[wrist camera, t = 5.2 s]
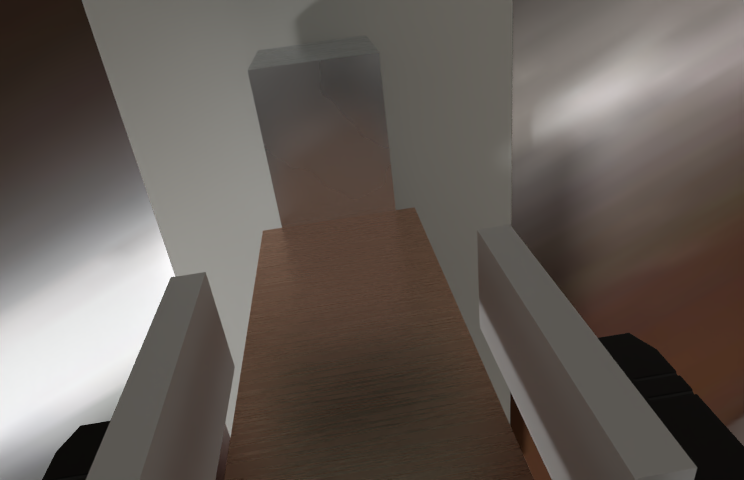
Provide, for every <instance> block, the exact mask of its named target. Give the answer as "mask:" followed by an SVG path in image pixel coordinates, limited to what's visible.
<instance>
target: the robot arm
mask: <svg viewBox="0 0 744 480" xmlns="http://www.w3.org/2000/svg"><path fill="white" fill-rule="evenodd" d="M477 245H478V282H479V318H480V329H481V331H482V333H483V335H484V337H485V339H486V341H487V343H488V346H489V348H490V350H491V352H492V354H493V356H494V358H495V360H496V362H497V365H498V367H499V369H500V371H501V373H502V375H503V377H504V379H505V381H506V384H507V386H508V388H509V390H510V392H511V394H512V396H513V398H514V400H515V403H516V405H517V407H518V409H519V411H520V413H521V415H522V417H523V419H524V422H525V424H526V426H527V428H528V430H529V432H530V434H531V436H532V438H533V441H534V443H535V445H536V447H537V449H538V451H539V453H540V455H541V457H542V460H543V462H544V464H545V466H546V468H547V470H548V472H549V474H550V476H551V479H552V480H744V446H743V445H742V444H741V443H740V442H739V441H738V440H737V438H736V437H735V436H734V435H733V434H732V433H731V432H730V431H729V430H728V428H727V427H726V426H725V425H724V424H723V423H722V422H721V421H720V420H719V418H718V417H717V416H716V415H715V414H714V413H713V412H712V411H711V409H710V408H709V407H708V406H707V405H706V404H705V403H704V402H703V401H702V399H701V398H700V397H699V396H698V395H697V394H695V395H694V393H693V391H692V388H691V387H690V386H689V385H688V384H687V383H686V382H685V381H684V379H683V378H682V377H681V376H677V374H676V371H675V369H674V368H673V367H672V366H671V365H670V364H669V363H668V362H667V361H666V359H665V358H664V357H663V356H662V355H661V354H660V353H659V352H658V351H657V349H655V348H653V347H652V346H650V345H648V344H647V343H645V342H643V341H642V340H640V339H638V338H637V337H635V336H633V335H632V334H630V333H625V334H619V335H613V336H607V337H601V338H597V337H596V335H595V334H594V333H593V332H592V330H591V329H590V328H589V326H588V325H587V324H586V322H585V321H584V320H583V319H582V317H581V316H580V315H579V313H578V312H577V311H576V309H575V308H574V307H573V306H572V304H571V303H570V302H569V300H568V299H567V298H566V296H565V295H564V294H563V293H562V291H561V290H560V289H559V287H558V286H557V285H556V283H555V282H554V281H553V280H552V278H551V277H550V276H549V274H548V273H547V272H546V271H545V269H544V268H543V267H542V265H541V264H540V263H539V261H538V260H537V259H536V258H535V256H534V255H533V254H532V252H531V251H530V250H529V248H528V247H527V246H526V245H525V243H524V242H523V241H522V239H521V238H520V237H519V235H518V234H517V233H516V232H515V230H514V229H513V228H512V226H511V225H504V226H498V227H491V228H485V229H478V230H477ZM234 369H235V366H234V363H233V359H232V356H231V353H230V350H229V346H228V343H227V340H226V337H225V333H224V330H223V327H222V324H221V320H220V317H219V314H218V311H217V307H216V304H215V301H214V298H213V294H212V291H211V288H210V285H209V281H208V278H207V275H206V272H202V273H196V274H189V275H183V276H176V277H171V278H170V281H169V283H168V286H167V288H166V290H165V293H164V295H163V297H162V300H161V302H160V305H159V307H158V309H157V312H156V314H155V316H154V319H153V321H152V324H151V326H150V328H149V331H148V333H147V335H146V338H145V340H144V343H143V345H142V347H141V350H140V352H139V354H138V357H137V359H136V362H135V364H134V366H133V369H132V371H131V373H130V376H129V378H128V381H127V383H126V385H125V388H124V390H123V392H122V395H121V397H120V399H119V402H118V404H117V407H116V409H115V411H114V414H113V416H112V418H111V421H106V422H100V423H94V424H88V425H82V426H80V427H79V428H78V429H77V430H76V431H75V432H74V433H73V434H72V436H71V437H70V438H69V439H68V440H67V441H66V442H65V443H64V444H63V445H62V446H61V447H60V448H59V450H58V451H57V452H56V453H55V455H54V457H53V459H52V461H51V463H50V465H49V467H48V469H47V471H46V473H45V475H44V477H43V479H42V480H216V474H217V468H218V462H219V456H220V451H221V445H222V439H223V433H224V427H225V422H226V416H227V410H228V404H229V398H230V393H231V387H232V381H233V375H234Z"/></svg>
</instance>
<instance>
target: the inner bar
mask: <svg viewBox="0 0 744 480" xmlns="http://www.w3.org/2000/svg"><path fill="white" fill-rule="evenodd" d="M248 75H249V79H250V84H251V89H252V93H253V98H254V102H255V107H256V111H257V116H258V120H259V125H260V130H261V134H262V139H263V143H264V148H265V152H266V157H267V162H268V166H269V171H270V175H271V180H272V184H273V189H274V193H275V198H276V203H277V207H278V212H279V216H280V221H281V225H282V228H277V229H270V230H264V231H263V233H262V239H261V246H260V252H259V259H258V265H257V271H256V278H255V284H254V291H253V297H252V303H251V310H250V316H249V323H248V329H247V335H246V342H245V348H244V355H243V361H242V367H241V374H240V380H239V387H238V393H237V400H236V406H235V412H234V419H233V425H232V432H231V438H230V444H229V451H228V457H227V464H226V470H225V476H224V480H534V478H533V476H532V474H531V472H530V469H529V467H528V465H527V463H526V460H525V458H524V456H523V453H522V451H521V449H520V447H519V444H518V442H517V440H516V437H515V435H514V433H513V431H512V428H511V426H510V424H509V422H508V419H507V417H506V415H505V412H504V410H503V408H502V406H501V403H500V401H499V399H498V396H497V394H496V392H495V390H494V387H493V385H492V383H491V380H490V378H489V376H488V374H487V371H486V369H485V367H484V365H483V362H482V360H481V358H480V355H479V353H478V351H477V349H476V346H475V344H474V342H473V339H472V337H471V335H470V333H469V330H468V328H467V326H466V324H465V321H464V319H463V317H462V314H461V312H460V310H459V308H458V305H457V303H456V301H455V298H454V296H453V294H452V292H451V289H450V287H449V285H448V283H447V280H446V278H445V276H444V273H443V271H442V269H441V267H440V264H439V262H438V260H437V257H436V255H435V253H434V251H433V248H432V246H431V244H430V241H429V239H428V237H427V235H426V232H425V230H424V228H423V226H422V223H421V221H420V219H419V216H418V214H417V212H416V210H415V207H414V208H407V209H401V210H396V208H395V198H394V189H393V179H392V170H391V160H390V151H389V141H388V132H387V122H386V113H385V103H384V94H383V84H382V75H381V66H380V56H379V51H378V50H377V49H376V47H375V46H374V45H373V44H372V42H371V41H370V40H369V38H368V37H367V36H366V35H364V36H357V37H350V38H343V39H335V40H328V41H321V42H314V43H307V44H299V45H292V46H285V47H278V48H271V49H264V50H258V51H257V53H256V55H255V57H254V59H253V61H252V63H251V64H250V66H249V68H248Z"/></svg>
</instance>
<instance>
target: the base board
mask: <svg viewBox="0 0 744 480" xmlns="http://www.w3.org/2000/svg"><path fill="white" fill-rule="evenodd" d="M82 3H83V6H84V9H85V12H86V15H87V18H88V21H89V24H90V26H91V29H92V32H93V35H94V38H95V41H96V44H97V47H98V50H99V53H100V56H101V59H102V62H103V65H104V68H105V71H106V73H107V76H108V79H109V82H110V85H111V88H112V91H113V94H114V97H115V100H116V103H117V106H118V109H119V112H120V115H121V118H122V120H123V123H124V126H125V129H126V132H127V135H128V138H129V141H130V144H131V147H132V150H133V153H134V156H135V159H136V162H137V165H138V167H139V170H140V173H141V176H142V179H143V182H144V185H145V188H146V191H147V194H148V197H149V200H150V203H151V206H152V209H153V212H154V215H155V217H156V220H157V223H158V226H159V229H160V232H161V235H162V238H163V241H164V244H165V247H166V250H167V253H168V256H169V259H170V262H171V264H172V267H173V270H174V273H175V276H183V275H189V274H196V273H202V272H206V275H207V278H208V281H209V285H210V288H211V291H212V294H213V298H214V301H215V304H216V307H217V311H218V314H219V317H220V320H221V324H222V327H223V330H224V333H225V337H226V340H227V343H228V346H229V350H230V353H231V356H232V359H233V363H234V366H235V369H234V375H233V381H232V387H231V393H230V398H229V404H228V410H227V416H226V422H225V423H226V426H227V429H228V432H229V435H230V438H231V432H232V425H233V419H234V412H235V406H236V400H237V393H238V387H239V380H240V374H241V367H242V361H243V355H244V348H245V342H246V335H247V329H248V323H249V316H250V310H251V303H252V297H253V291H254V284H255V278H256V271H257V265H258V259H259V252H260V246H261V239H262V233H263V231H264V230H270V229H277V228H282V225H281V221H280V216H279V212H278V207H277V203H276V198H275V193H274V189H273V184H272V180H271V175H270V171H269V166H268V162H267V157H266V152H265V148H264V143H263V139H262V134H261V130H260V125H259V120H258V116H257V111H256V107H255V102H254V98H253V93H252V89H251V84H250V79H249V75H248V68H249V66H250V64H251V63H252V61H253V59H254V57H255V55H256V53H257V51H258V50H264V49H271V48H278V47H285V46H292V45H299V44H307V43H314V42H321V41H328V40H335V39H343V38H350V37H357V36H364V35H366V36H367V37H368V38H369V40H370V41H371V42H372V44H373V45H374V46H375V47H376V49H377V50H378V51H379V56H380V66H381V75H382V84H383V94H384V103H385V113H386V122H387V132H388V141H389V151H390V160H391V170H392V179H393V189H394V198H395V208H396V210H401V209H407V208H414V207H415V210H416V212H417V214H418V216H419V219H420V221H421V223H422V226H423V228H424V230H425V232H426V235H427V237H428V239H429V241H430V244H431V246H432V248H433V251H434V253H435V255H436V257H437V260H438V262H439V264H440V267H441V269H442V271H443V273H444V276H445V278H446V280H447V283H448V285H449V287H450V289H451V292H452V294H453V296H454V298H455V301H456V303H457V305H458V308H459V310H460V312H461V314H462V317H463V319H464V321H465V324H466V326H467V328H468V330H469V333H470V335H471V337H472V339H473V342H474V344H475V346H476V349H477V351H478V353H479V355H480V358H481V360H482V362H483V365H484V367H485V369H486V371H487V374H488V376H489V378H490V380H491V383H492V385H493V387H494V390H495V392H496V394H497V396H498V399H499V401H500V403H501V406H502V408H503V410H504V412H505V415H506V417H507V419H508V422H509V424H510V390H509V388H508V386H507V384H506V381H505V379H504V377H503V375H502V373H501V371H500V369H499V367H498V365H497V362H496V360H495V358H494V356H493V354H492V352H491V350H490V348H489V346H488V343H487V341H486V339H485V337H484V335H483V333H482V331H481V329H480V318H479V282H478V245H477V230H478V229H485V228H491V227H498V226H504V225H511V204H512V46H513V0H82Z"/></svg>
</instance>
